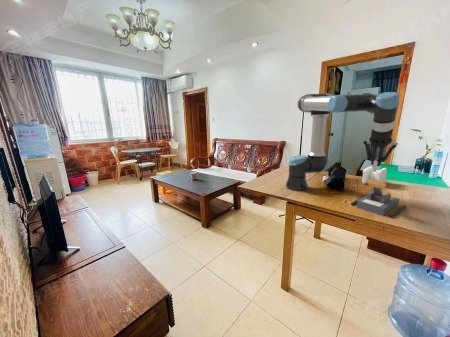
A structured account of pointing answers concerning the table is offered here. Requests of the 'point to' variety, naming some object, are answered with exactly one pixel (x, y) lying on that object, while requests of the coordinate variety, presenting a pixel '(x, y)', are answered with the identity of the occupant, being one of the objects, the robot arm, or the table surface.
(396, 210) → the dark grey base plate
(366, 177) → the cable organizer
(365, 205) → the breaker block
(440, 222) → the table surface
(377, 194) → the lever
